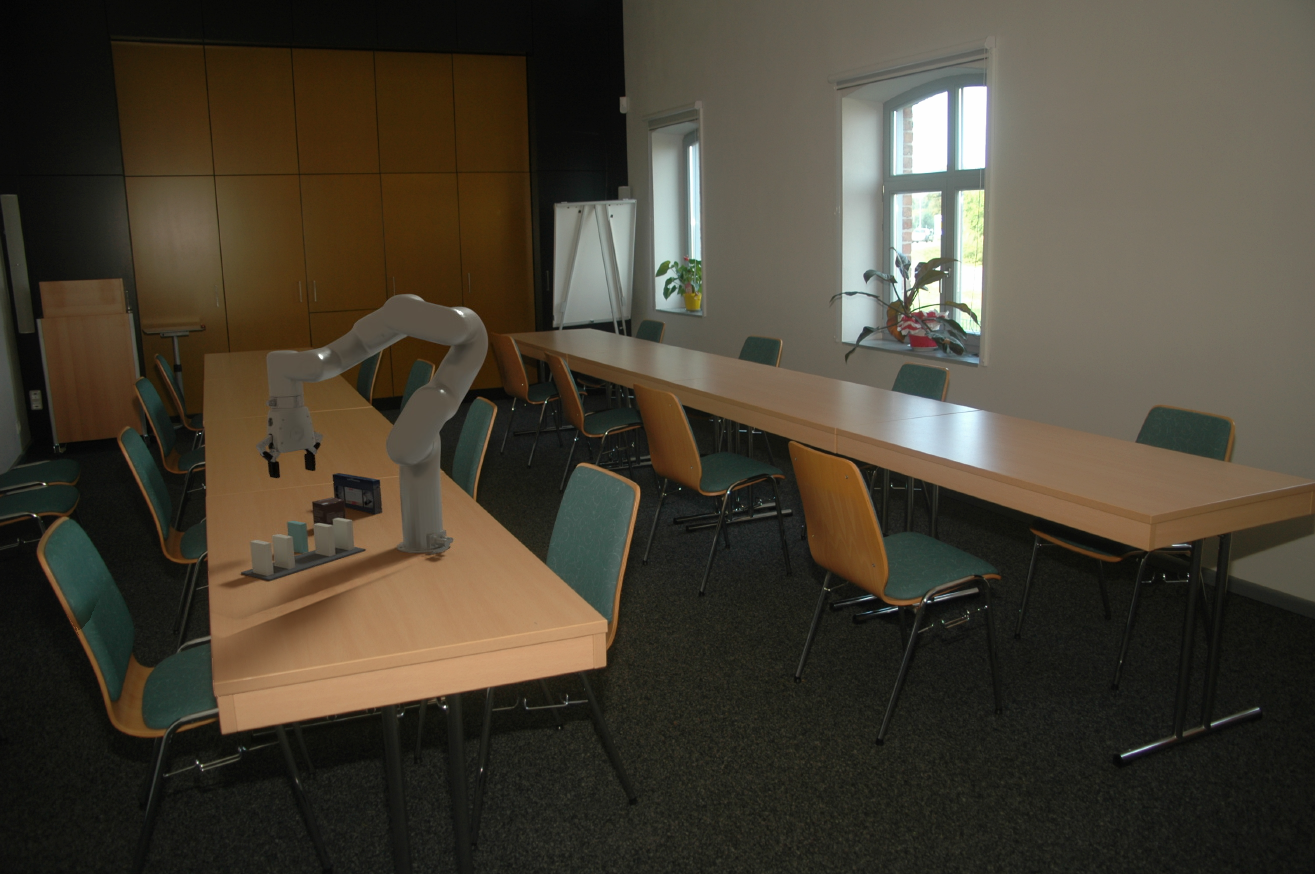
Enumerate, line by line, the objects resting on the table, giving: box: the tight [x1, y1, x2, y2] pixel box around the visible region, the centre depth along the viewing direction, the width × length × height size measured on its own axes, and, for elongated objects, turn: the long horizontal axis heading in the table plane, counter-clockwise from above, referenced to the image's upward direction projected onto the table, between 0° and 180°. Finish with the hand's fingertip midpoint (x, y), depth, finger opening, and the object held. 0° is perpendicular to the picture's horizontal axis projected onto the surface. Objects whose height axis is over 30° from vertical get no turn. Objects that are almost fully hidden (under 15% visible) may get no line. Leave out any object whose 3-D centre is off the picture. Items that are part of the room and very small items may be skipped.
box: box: [311, 496, 347, 525], centre depth 241 cm, size 6×6×7 cm
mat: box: [240, 546, 366, 582], centre depth 212 cm, size 10×26×1 cm, turn 148°
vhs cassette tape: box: [332, 472, 383, 516], centre depth 259 cm, size 18×3×10 cm, turn 53°
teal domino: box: [286, 520, 310, 554], centre depth 221 cm, size 2×5×7 cm, turn 58°
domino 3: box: [312, 523, 335, 556], centre depth 216 cm, size 2×5×7 cm, turn 58°
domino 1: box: [249, 539, 274, 576], centre depth 202 cm, size 2×5×7 cm, turn 58°
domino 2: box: [271, 533, 295, 569], centre depth 207 cm, size 2×5×7 cm, turn 58°
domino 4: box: [333, 518, 355, 550], centre depth 221 cm, size 2×5×7 cm, turn 58°
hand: (293, 473), depth 222 cm, fingers open, 9 cm apart
